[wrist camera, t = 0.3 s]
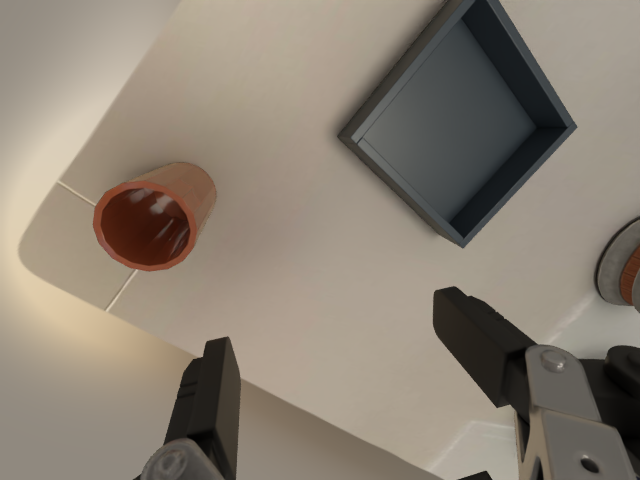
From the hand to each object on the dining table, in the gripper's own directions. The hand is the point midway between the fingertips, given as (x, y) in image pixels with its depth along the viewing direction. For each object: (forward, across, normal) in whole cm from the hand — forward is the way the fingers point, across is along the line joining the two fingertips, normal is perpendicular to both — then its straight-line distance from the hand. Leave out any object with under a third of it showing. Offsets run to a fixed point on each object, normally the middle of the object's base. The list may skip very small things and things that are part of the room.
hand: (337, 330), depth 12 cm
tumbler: (+21, +9, -2) cm, 23 cm away
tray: (+21, -17, -4) cm, 27 cm away
